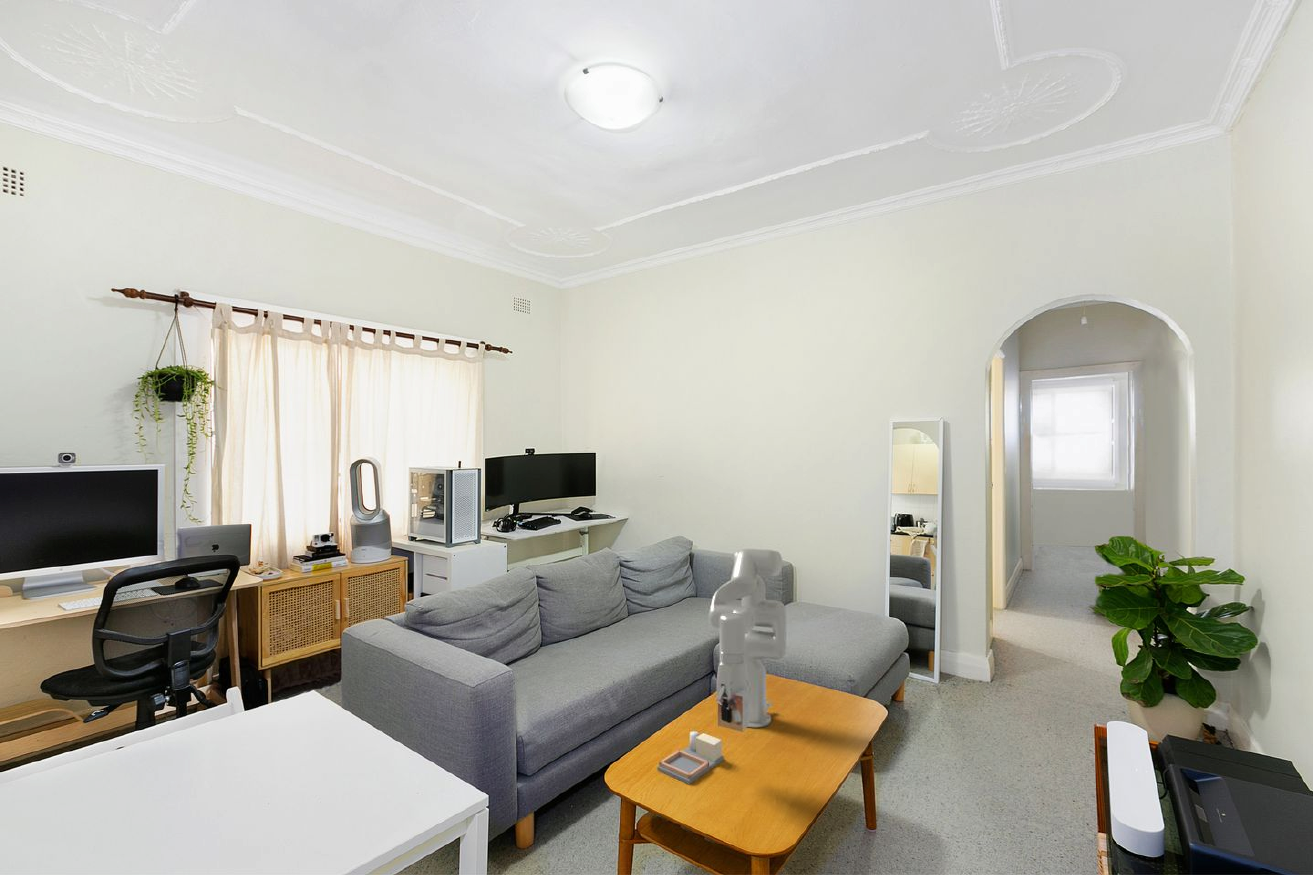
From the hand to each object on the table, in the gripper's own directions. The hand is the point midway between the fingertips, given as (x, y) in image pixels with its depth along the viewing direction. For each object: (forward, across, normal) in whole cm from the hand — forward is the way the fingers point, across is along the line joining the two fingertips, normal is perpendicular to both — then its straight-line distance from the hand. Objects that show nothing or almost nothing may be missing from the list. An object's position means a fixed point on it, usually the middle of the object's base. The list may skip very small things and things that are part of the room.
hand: (733, 715), depth 175 cm
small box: (+3, 0, 0) cm, 3 cm away
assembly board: (+18, +3, -14) cm, 23 cm away
